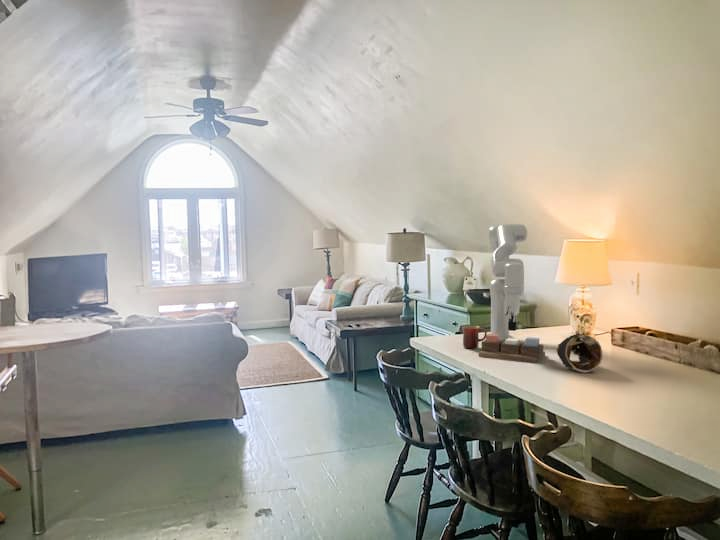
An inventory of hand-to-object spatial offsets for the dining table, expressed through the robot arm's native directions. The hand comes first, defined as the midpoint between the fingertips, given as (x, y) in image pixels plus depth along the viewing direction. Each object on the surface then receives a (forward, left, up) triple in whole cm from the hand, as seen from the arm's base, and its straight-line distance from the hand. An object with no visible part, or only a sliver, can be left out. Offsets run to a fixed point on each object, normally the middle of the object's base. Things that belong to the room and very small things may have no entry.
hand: (512, 330), depth 251 cm
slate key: (+1, +9, -7) cm, 12 cm away
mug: (-8, -21, -12) cm, 25 cm away
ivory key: (+1, 0, -8) cm, 8 cm away
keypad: (+1, 0, -12) cm, 12 cm away
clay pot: (+6, +28, -12) cm, 31 cm away
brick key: (+1, -9, -7) cm, 11 cm away
